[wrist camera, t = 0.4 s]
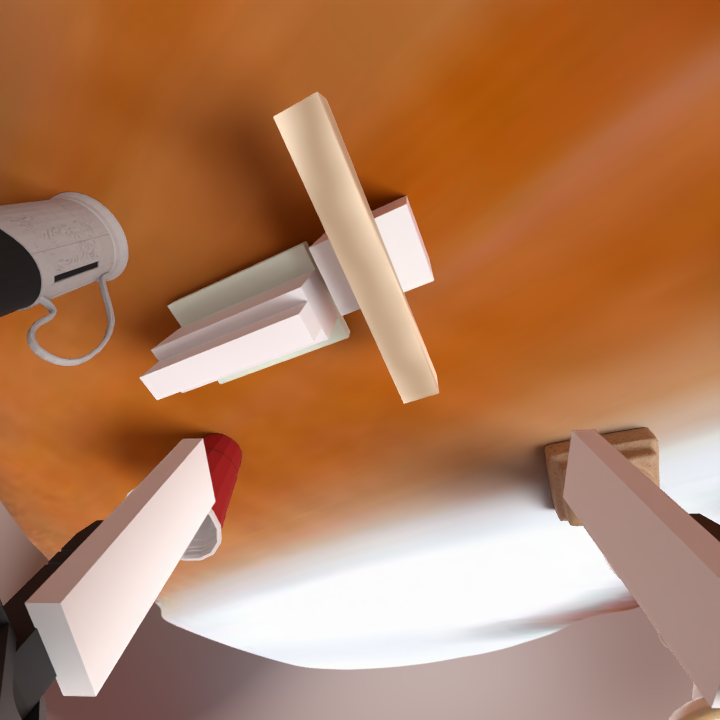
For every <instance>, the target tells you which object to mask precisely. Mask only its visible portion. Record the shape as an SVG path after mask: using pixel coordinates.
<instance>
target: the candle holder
mask: <svg viewBox="0 0 720 720" xmlns="http://www.w3.org/2000/svg"><path fill="white" fill-rule="evenodd" d="M601 436H602V437H603V438H604V439H606V440H607V441H608V442H609V443H610V444H611V445H612V446H613V447H614V448H616V449H617V450H618V451H619V452H620V453H621V454H622V455H623V456H624V457H626V458H627V459H628V460H629V461H630V462H631V463H632V464H633V465H634V466H636V467H637V468H638V469H639V470H640V471H641V472H642V473H643V474H644V475H646V476H647V477H648V478H649V479H650V480H651V481H652V482H653V483H655V484H656V485H657V486H658V487H659V447H658V440H657V438H656V437H655V436H654V434H653V433H652V432H651V431H650V430H649V429H648V428H638V429H630V430H625V431H619V432H613V433H608V434H602V435H601ZM570 441H571V440H569V441H563V442H558V443H554V444H549V445H547V446H545V448H544V450H545V459H546V465H547V471H548V477H549V483H550V489H551V495H552V501H553V505H554V508H555V511H556V513H557V515H558V517H559V519H560V521H567V520H568V522H569V524H570V525H572V526H583V525H582V524H581V522H580V521H579V519H578V518H577V516H576V515H575V514H574V512H573V511H572V509H571V508H570V507H569V505H568V504H567V502H566V501H565V499H564V498H563V493H564V486H565V478H566V471H567V463H568V456H569V448H570ZM604 558H605V556H604ZM605 560H606V562H607V564H608V566H609V567H610V569H611V570H612V571H613V572H614V573H615V574H616V575H617V573H616V572H615V570H614V569H613V568H612V566H611V565H610V563H609V562H608V560H607V559H606V558H605ZM617 576H618V575H617ZM618 577H619V576H618ZM619 578H620V577H619ZM658 635H659V638H660V640H661V642H662V643H663V644H664V645H665V646H666V647H667V648H669V647H668V646H667V644H666V643H665V641H664V640H663V638H662V637H661V636H660V634H659V633H658ZM669 649H670V648H669ZM669 720H720V708H711V707H710V705H709V704H708V702H707V701H706V699H705V698H704V697H703V695H702V694H701V692H700V691H699V690H698V688H697V687H696V685H695V684H694V686H693V692H692V701H690V702H688V703H686V704H684V705H682V706H681V707H679V708H678V709H676V711H675V712H673V714H672V715H671V716H670V718H669Z"/></svg>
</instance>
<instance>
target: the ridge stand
mask: <svg viewBox="0 0 720 720" xmlns="http://www.w3.org/2000/svg"><path fill="white" fill-rule="evenodd" d="M168 308H169V309H170V311H171V312H172V314H173V315H174V317H175V318H176V320H177V321H178V323H179V324H180V326H181V328H179V329H178V330H177V331H175V332H174V333H173V334H171V335H170V336H169V337H167V338H166V339H165V340H163V341H162V342H161V343H160V344H158V345H157V346H156V347H154V348H153V349H152V350H151V351H152V353H153V354H154V355H155V357H156V358H157V359H158V361H159V362H158V363H156V364H155V365H154V366H153V367H152V368H150V369H149V370H148V371H147V372H145V373H144V374H143V375H142V376H141V377H139V378H140V379H141V380H142V382H143V383H144V384H145V385H146V387H147V388H148V389H149V391H150V392H151V393H152V394H153V396H154V397H155V398H156V400H159V399H162V398H164V397H167V396H170V395H172V394H175V393H178V392H180V391H181V392H182V393H184V392H187V391H189V390H192V389H195V388H198V387H200V386H203V385H206V384H208V383H211V382H214V381H217V380H218V382H219V383H220V384H223V383H225V382H228V381H231V380H234V379H236V378H239V377H242V376H245V375H247V374H250V373H253V372H255V371H258V370H261V369H264V368H266V367H269V366H272V365H275V364H277V363H280V362H283V361H286V360H288V359H291V358H294V357H297V356H299V355H302V354H305V353H308V352H310V351H313V350H316V349H319V348H321V347H324V346H327V345H330V344H332V343H335V342H338V341H341V340H343V339H346V338H348V337H349V334H350V330H349V328H348V326H347V324H346V322H345V320H344V318H343V316H341V314H340V312H339V310H338V308H337V306H336V304H335V302H334V300H333V298H332V296H331V294H330V292H329V289H328V287H327V285H326V283H325V281H324V279H323V277H322V275H321V273H320V271H319V269H318V267H317V265H316V263H315V261H314V258H313V256H312V254H311V252H310V250H309V245H308V243H307V241H305V242H303V243H301V244H299V245H297V246H294V247H292V248H290V249H288V250H286V251H283V252H281V253H279V254H277V255H275V256H272V257H270V258H268V259H266V260H264V261H261V262H259V263H257V264H255V265H253V266H251V267H248V268H246V269H244V270H242V271H240V272H237V273H235V274H233V275H231V276H229V277H226V278H224V279H222V280H220V281H218V282H215V283H213V284H211V285H209V286H207V287H205V288H202V289H200V290H198V291H196V292H194V293H191V294H189V295H187V296H185V297H183V298H180V299H178V300H176V301H174V302H173V303H171V304H169V305H168Z"/></svg>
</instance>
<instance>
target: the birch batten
mask: <svg viewBox="0 0 720 720" xmlns="http://www.w3.org/2000/svg"><path fill="white" fill-rule="evenodd" d="M273 118H274V120H275V122H276V124H277V126H278V129H279V131H280V133H281V135H282V137H283V140H284V142H285V144H286V146H287V148H288V151H289V153H290V155H291V157H292V159H293V161H294V164H295V166H296V168H297V170H298V172H299V175H300V177H301V179H302V181H303V183H304V186H305V188H306V190H307V192H308V194H309V197H310V199H311V201H312V203H313V205H314V208H315V210H316V212H317V214H318V216H319V218H320V221H321V223H322V225H323V227H324V229H325V232H326V234H327V236H328V238H329V240H330V243H331V245H332V247H333V249H334V251H335V254H336V256H337V258H338V260H339V262H340V264H341V267H342V269H343V271H344V273H345V275H346V278H347V280H348V282H349V284H350V286H351V289H352V291H353V293H354V295H355V297H356V300H357V302H358V304H359V306H360V308H361V311H362V313H363V315H364V317H365V319H366V321H367V324H368V326H369V328H370V330H371V332H372V335H373V337H374V339H375V341H376V343H377V346H378V348H379V350H380V352H381V354H382V357H383V359H384V361H385V363H386V365H387V367H388V370H389V372H390V374H391V376H392V378H393V381H394V383H395V385H396V387H397V389H398V392H399V394H400V396H401V398H402V400H403V403H408V402H411V401H415V400H418V399H421V398H425V397H428V396H431V395H435V394H438V393H439V389H438V382H437V374H436V372H435V369H434V367H433V364H432V362H431V359H430V357H429V354H428V352H427V349H426V347H425V344H424V342H423V339H422V337H421V334H420V332H419V329H418V327H417V324H416V322H415V319H414V317H413V314H412V312H411V309H410V307H409V304H408V302H407V299H406V297H405V294H404V292H403V289H402V287H401V284H400V282H399V279H398V277H397V274H396V272H395V269H394V267H393V264H392V262H391V259H390V257H389V254H388V252H387V249H386V247H385V244H384V242H383V239H382V237H381V234H380V232H379V229H378V227H377V224H376V222H375V219H374V217H373V214H372V212H371V209H370V207H369V204H368V202H367V199H366V197H365V194H364V192H363V189H362V187H361V184H360V182H359V179H358V177H357V174H356V172H355V169H354V167H353V164H352V161H351V159H350V156H349V154H348V151H347V149H346V146H345V144H344V141H343V139H342V136H341V134H340V131H339V129H338V126H337V124H336V121H335V119H334V116H333V114H332V111H331V109H330V106H329V104H328V101H327V99H326V98H325V97H323V96H322V95H321V94H319V93H318V92H316V93H314V94H312V95H311V96H309V97H307V98H305V99H304V100H302V101H300V102H298V103H297V104H295V105H293V106H291V107H290V108H288V109H286V110H284V111H283V112H281V113H279V114H277V115H276V116H274V117H273Z"/></svg>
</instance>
